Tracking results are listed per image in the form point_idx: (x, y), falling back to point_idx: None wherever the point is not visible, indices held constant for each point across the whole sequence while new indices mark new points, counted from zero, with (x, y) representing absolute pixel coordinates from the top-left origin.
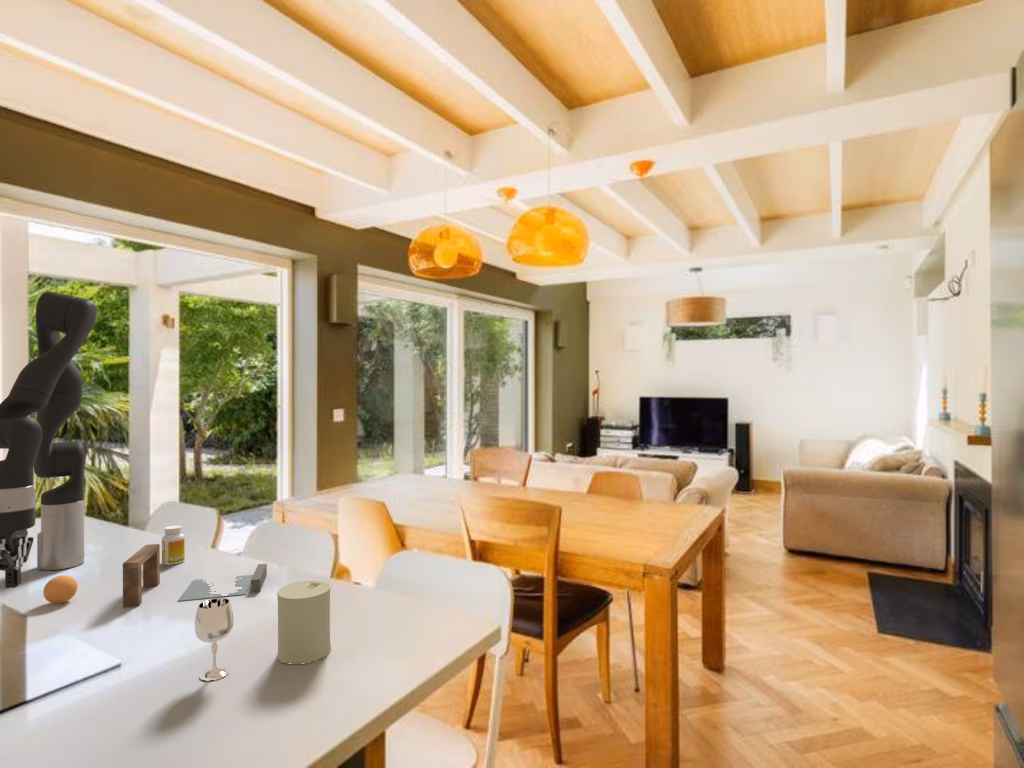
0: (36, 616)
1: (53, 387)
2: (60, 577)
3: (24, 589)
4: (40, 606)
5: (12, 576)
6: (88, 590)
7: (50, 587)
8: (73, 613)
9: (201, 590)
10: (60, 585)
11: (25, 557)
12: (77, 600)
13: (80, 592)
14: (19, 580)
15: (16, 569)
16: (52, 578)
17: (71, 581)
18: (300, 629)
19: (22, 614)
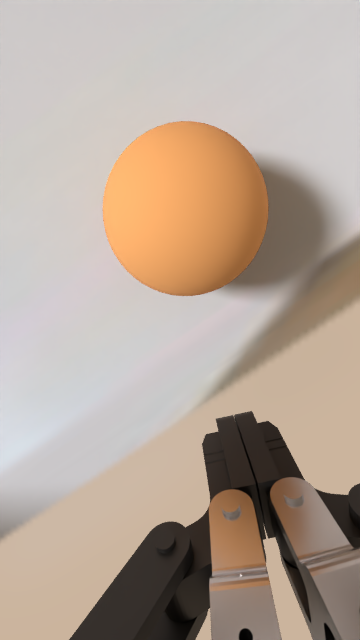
0: (339, 213)
1: None
2: (216, 198)
3: (13, 478)
4: None
5: (294, 461)
6: (10, 186)
7: (265, 225)
8: (341, 39)
9: None
10: (254, 170)
11: (172, 565)
12: None
13: (41, 211)
14: (236, 429)
15: (303, 481)
16: (201, 264)
17: (195, 131)
18: None
19: (301, 291)
